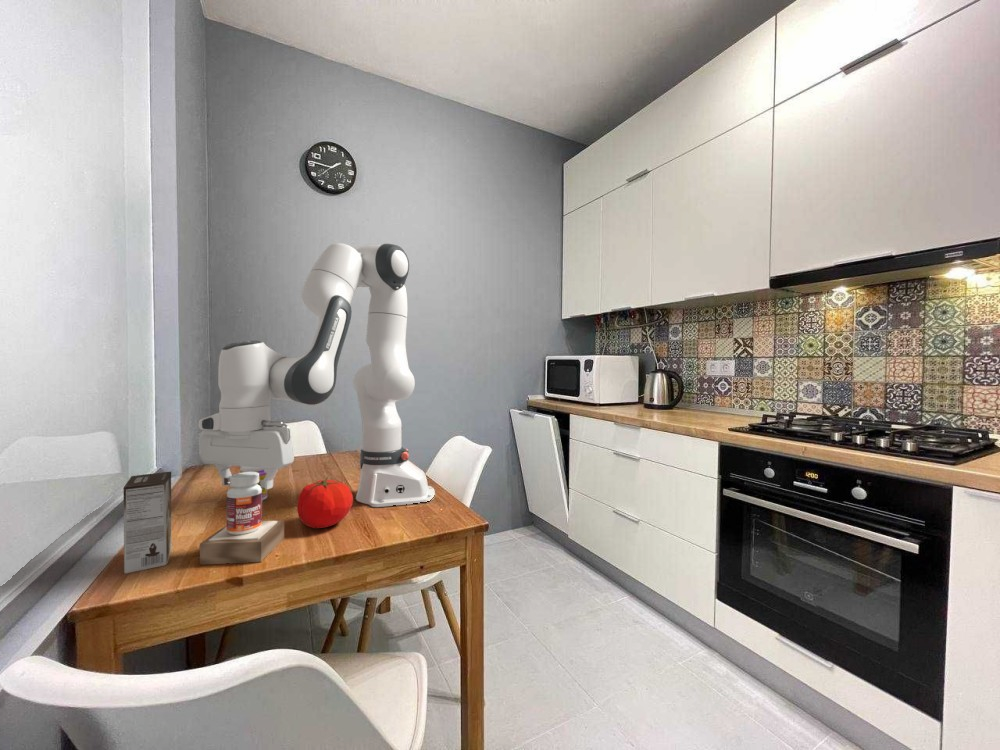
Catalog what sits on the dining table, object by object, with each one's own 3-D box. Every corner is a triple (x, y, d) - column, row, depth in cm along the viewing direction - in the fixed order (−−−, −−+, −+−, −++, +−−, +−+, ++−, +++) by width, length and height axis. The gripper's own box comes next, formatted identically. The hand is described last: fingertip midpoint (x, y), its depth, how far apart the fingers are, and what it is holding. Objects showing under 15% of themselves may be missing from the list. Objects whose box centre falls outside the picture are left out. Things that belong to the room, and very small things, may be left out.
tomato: (302, 516, 103) (302, 475, 103) (354, 512, 106) (354, 472, 106) (290, 538, 90) (291, 490, 90) (350, 532, 94) (350, 487, 93)
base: (284, 538, 90) (284, 519, 90) (261, 562, 79) (261, 540, 79) (230, 540, 89) (230, 520, 89) (199, 564, 78) (199, 542, 78)
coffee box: (131, 555, 81) (130, 475, 81) (172, 547, 85) (172, 470, 85) (122, 574, 74) (122, 486, 73) (168, 565, 77) (168, 481, 77)
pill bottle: (236, 538, 80) (236, 480, 79) (220, 531, 83) (220, 475, 83) (267, 527, 85) (268, 473, 85) (252, 521, 88) (252, 469, 88)
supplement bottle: (258, 504, 112) (258, 457, 111) (234, 503, 112) (234, 457, 111) (272, 496, 118) (272, 452, 118) (250, 495, 118) (250, 451, 118)
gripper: (300, 419, 84) (302, 485, 85) (219, 416, 89) (221, 479, 89) (277, 424, 78) (279, 495, 79) (191, 420, 83) (193, 488, 83)
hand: (247, 486), depth 84 cm, fingers open, 8 cm apart
